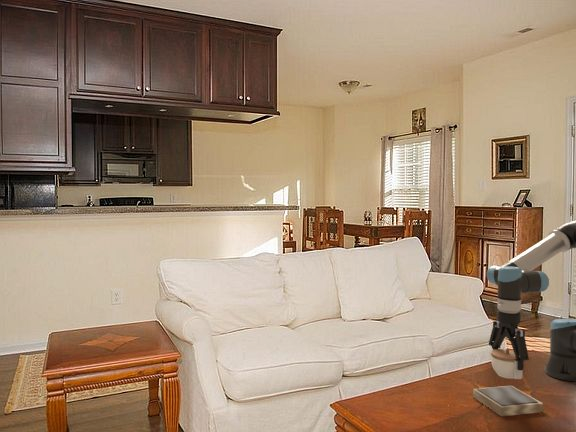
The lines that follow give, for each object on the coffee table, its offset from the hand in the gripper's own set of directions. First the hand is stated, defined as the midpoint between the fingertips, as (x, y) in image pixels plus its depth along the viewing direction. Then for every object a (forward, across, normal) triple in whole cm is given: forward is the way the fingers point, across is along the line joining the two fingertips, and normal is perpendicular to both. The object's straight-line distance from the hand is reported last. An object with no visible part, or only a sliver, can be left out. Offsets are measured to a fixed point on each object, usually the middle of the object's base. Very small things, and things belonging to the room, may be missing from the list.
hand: (507, 372), depth 170 cm
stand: (+11, 0, 0) cm, 11 cm away
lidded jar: (+1, 0, 0) cm, 1 cm away
